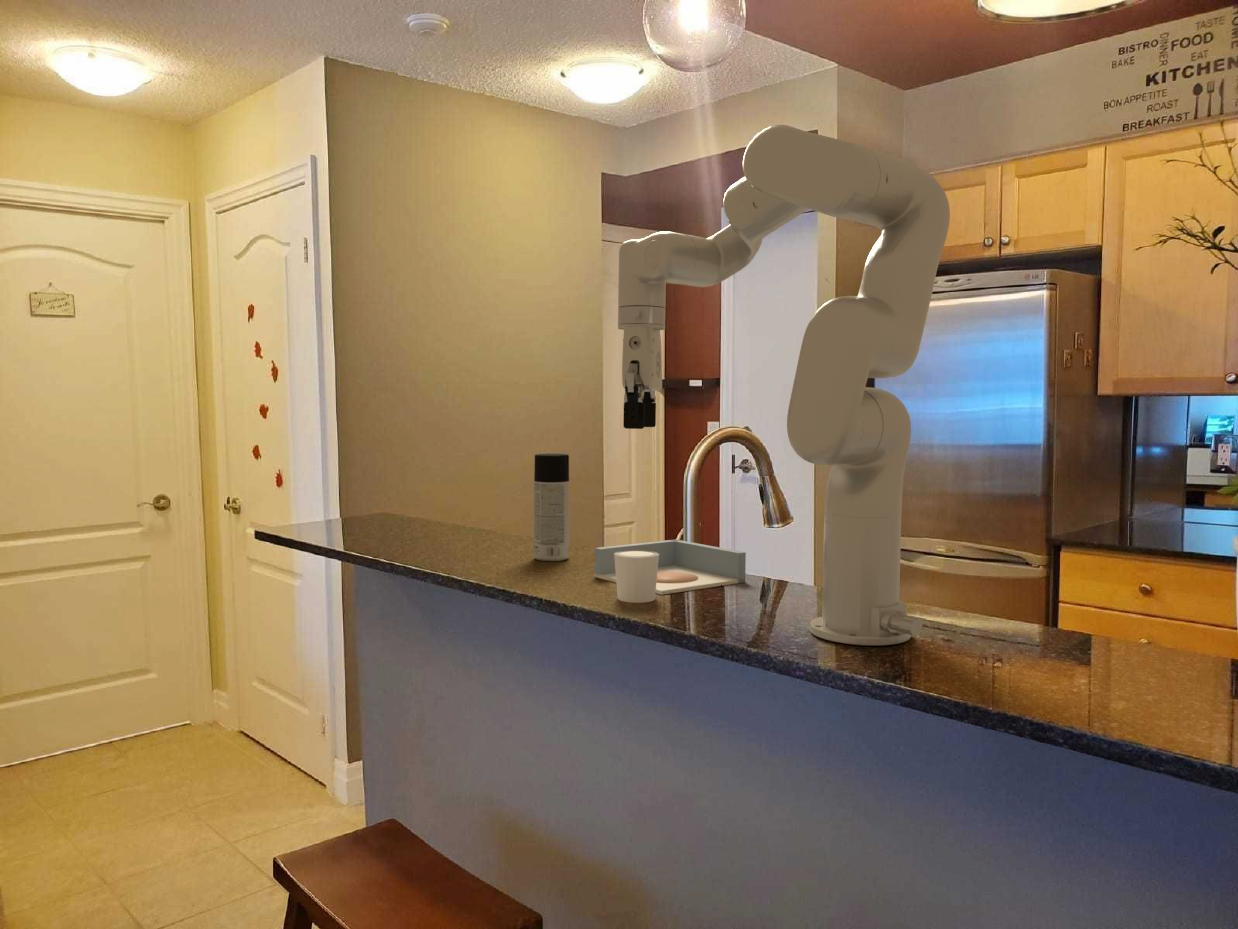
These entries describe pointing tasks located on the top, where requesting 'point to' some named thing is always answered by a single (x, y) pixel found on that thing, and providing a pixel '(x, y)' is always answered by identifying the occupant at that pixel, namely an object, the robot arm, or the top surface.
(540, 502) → the spray can
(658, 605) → the top surface
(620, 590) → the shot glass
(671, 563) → the arena
